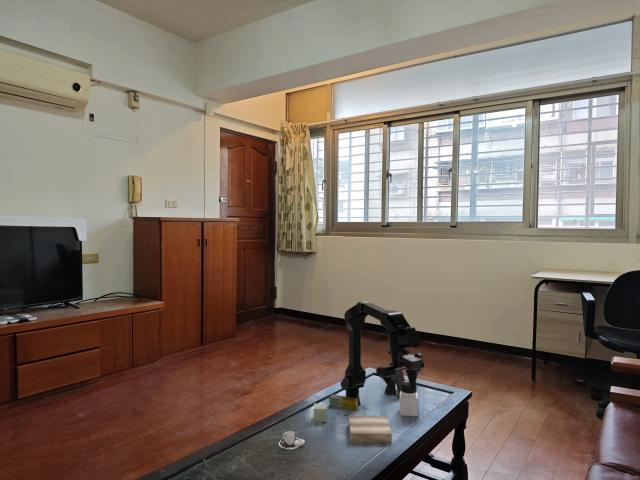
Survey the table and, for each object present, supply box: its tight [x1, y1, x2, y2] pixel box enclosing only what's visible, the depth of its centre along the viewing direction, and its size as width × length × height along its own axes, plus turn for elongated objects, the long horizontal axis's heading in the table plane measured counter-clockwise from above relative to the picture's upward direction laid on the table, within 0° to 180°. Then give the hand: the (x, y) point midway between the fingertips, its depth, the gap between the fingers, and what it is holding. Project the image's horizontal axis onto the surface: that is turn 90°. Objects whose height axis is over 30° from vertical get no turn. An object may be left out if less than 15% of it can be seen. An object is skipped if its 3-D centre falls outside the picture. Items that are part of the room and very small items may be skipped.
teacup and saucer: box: [278, 430, 306, 450], centre depth 144 cm, size 9×8×4 cm
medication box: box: [328, 393, 359, 411], centre depth 174 cm, size 12×3×4 cm, turn 62°
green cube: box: [313, 403, 328, 423], centre depth 163 cm, size 5×5×5 cm
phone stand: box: [384, 369, 406, 398], centre depth 188 cm, size 9×6×12 cm, turn 50°
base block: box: [348, 415, 393, 443], centre depth 151 cm, size 14×14×3 cm
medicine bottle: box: [399, 380, 419, 418], centre depth 168 cm, size 7×7×12 cm
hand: (404, 392), depth 150 cm, fingers open, 9 cm apart
